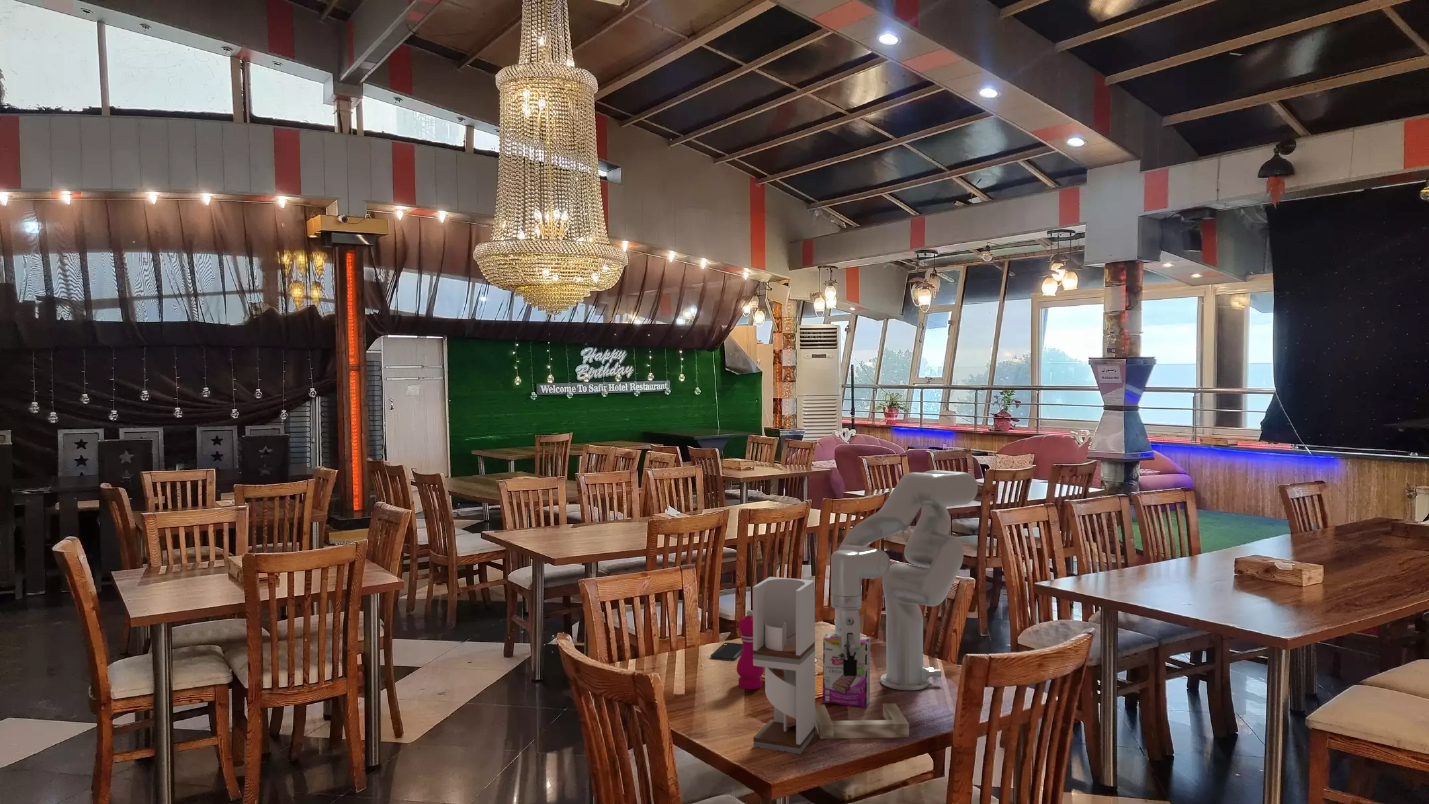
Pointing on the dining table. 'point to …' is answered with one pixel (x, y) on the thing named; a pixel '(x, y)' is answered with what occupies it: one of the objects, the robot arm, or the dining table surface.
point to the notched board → (862, 725)
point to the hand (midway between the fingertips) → (846, 669)
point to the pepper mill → (748, 656)
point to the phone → (728, 652)
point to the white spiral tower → (786, 660)
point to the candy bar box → (841, 686)
